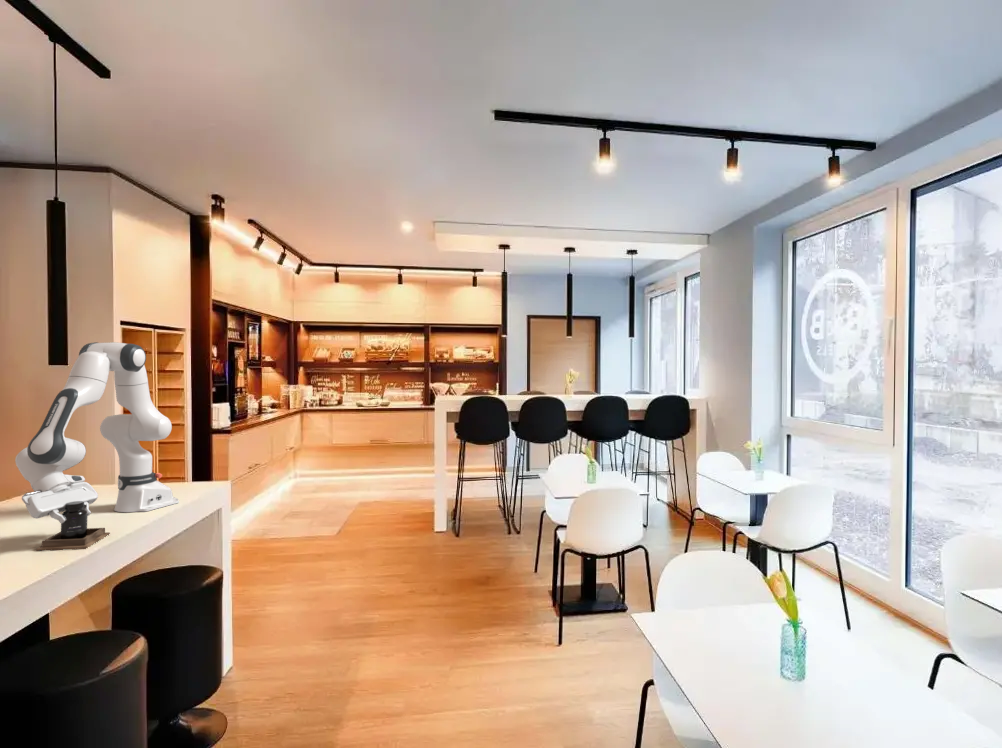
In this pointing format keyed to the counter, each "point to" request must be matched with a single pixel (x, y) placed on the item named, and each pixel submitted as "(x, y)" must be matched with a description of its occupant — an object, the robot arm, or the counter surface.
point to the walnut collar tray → (73, 540)
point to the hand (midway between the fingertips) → (76, 518)
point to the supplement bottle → (74, 521)
